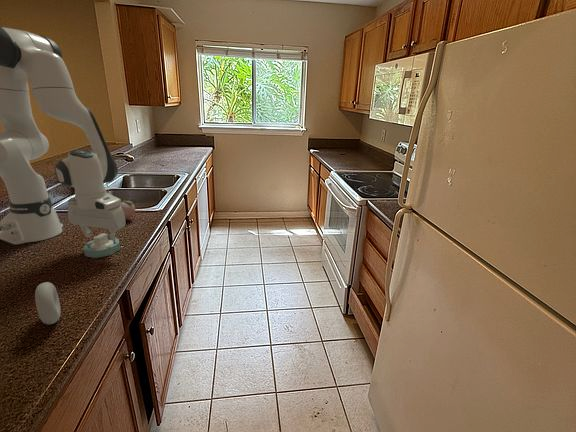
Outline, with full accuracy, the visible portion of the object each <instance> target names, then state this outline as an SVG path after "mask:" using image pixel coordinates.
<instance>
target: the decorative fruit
mask: <svg viewBox="0 0 576 432" xmlns="http://www.w3.org/2000/svg"><path fill="white" fill-rule="evenodd" d="M120 200H121V205H119V206H120V207H121V208H122V209H123V212H124V216H125V221H127V220H129V219H130V218H132V217H133V216H134V215H135V213H136V207H135V204H134V203H133V202H132V201H130V200H123V199H122V198H121V197H120Z"/></svg>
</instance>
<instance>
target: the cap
mask: <svg viewBox="0 0 576 432" xmlns="http://www.w3.org/2000/svg"><path fill="white" fill-rule="evenodd" d="M108 235H109V234H108V233H104V232H102V233H99V234H98V235H96V236H92V239H93V241H94V243H92V244H91V245H90V246H91V249H94V250H98V249H103V248H108V247H110V246H112V245H114V243H113V241H112V240H108V237H107V236H108Z"/></svg>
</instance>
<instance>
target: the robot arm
mask: <svg viewBox="0 0 576 432" xmlns="http://www.w3.org/2000/svg"><path fill="white" fill-rule="evenodd" d="M28 79H29V82H28ZM29 84H30V88H31V90H32V91H31V92H32V95H33V98H34V101H35V103H36V106H37V107H38V108H39V110H41V112H43V113H44V114H45V115H47V116H48V117H51V118H53V119H55V120H59V121H61V122H66V123H67V124H68V123H69V124H72V125H74V126H76V127H78V128H79V129H81V130H82V131H83V132H84V134H85V137H86V138H87V140H88V143H89V145H90V147H91V149H92V150H90V149H84V148H82V149H80V148H79V149H73V150H71V151H69V152H68V153H67V154H68V155H67V157H65V158H62V159H60V160H58V162H57V163H56V164H55V165H54V172H55V177H56V180H57V182H58V183H59V184H60V185H62V186H65V187H67V188H74V195H75V197H70V198H69V199H68V200H67V204H68V206H67V214H68V220H69V222H70V224H72V225H76V226H79V227H80V229H81V230H82V232H83V233H84V236H85V237H86V238H91V237H94V234H93V231H92V230H90V227H92V228H97V229H98V228H99V229H103V230H104V229H105V230H108V232H109V234H108V236H107V237H108V240H112V241H113V240H115V238H116V233H117V231H119V230H122V229H123V228H125V226H126V220H125V216H124V212H123V209H122V208H121V207H120V206H119V205H121V198H119V197H117V196H114V195H112V194H111V193H109V192H107V189H106V185H105V184H106V183H112V182H113V181H114V180H115V178H116V177H117V176H118V173H119V167H118V165H117V163H116V160H115V159H114V157H113V155H112V154H111V152H110V150H109V147H108V144H107V142H106V139H105V137H104V136H103V133H102V130H101V128H100V126H99V123H98V122H97V119H96V117H95V116H94V113H93V112H92V110H91V109H90V108H89V107H87V106H85V105H84V104H83V103H82V102H81V100H80V99H79V98H78V96H77V94H76V92H75V91H76V90H75V87H74V84H73V80H72V77H71V75H70V72H69V70H68V68H67V65H66V63H65V61H64V59H63V55H62V51H61V49H60V47H59V45H58V44H57V43H56V42H55V41H53V40H52V39H50V38H49V37H47V36H44V35H42V34H41V35H38V34H35V33H34V32H33V33H32V32H30V31H27V30H23V29H14V28H11V27H4V26H2V27H1V26H0V125H1V128H2V130H3V131H1V132H0V178H1V180H2V181H3V183H4V185H5V188H6V190H7V194H8V197H9V200H10V202H7V203H6V206H7V207H9V213H7V214H6V215H5V216H4V217H3V218H2V219H1V220H0V229H1V230H0V240H2V241H4V242H7V243H9V244H13V245H14V246H15V245H16V246H17V245H21V244H25V243H32V242H33V243H34V242H35V243H36V242H39V241H44V240H48V239H51V238H54V237H56V236H58V235H60V234H62V232H63V227H64V224H63V223H61V222H60V219H59V216H58V213H57V211H56V209H55V208H54V207H53V204H52V203H53V202H52V198H51V197H50V196H49V194H48V189H47V185H46V183H45V179H44V177H43V176H42V175H41V174H39V173H37V172H36V170H35V169H33V166H32V164H31V162H30V161H33V160H37V159H39V158H41V157H42V156H43V155H46V153H47V152H48V151H49V149H50V143H49V140H48V137H46V135H44V134H43V133H42V132H41V131H40V130H39V127H38V126H37V123H36V121H35V119H34V115H33V109H32V103H31V97H30V88H29Z"/></svg>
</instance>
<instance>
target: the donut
mask: <svg viewBox="0 0 576 432" xmlns="http://www.w3.org/2000/svg"><path fill="white" fill-rule="evenodd" d="M34 292H35V293H34V301H35V306H36V310H37V313H38V317H39V319H40V320H41V322H42V323H43V324H45V325H48V326H49V325H53V324H55V323H57V322H58V321H59V320H60V318H61V313H62V311H61V303H60V297H59V295H58V292H57V288H56V286H55V285H54V284H53V283H52V282H50V281H46V282H42V283H39V284H38V285H37V287H36V289H35V290H34Z"/></svg>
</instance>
